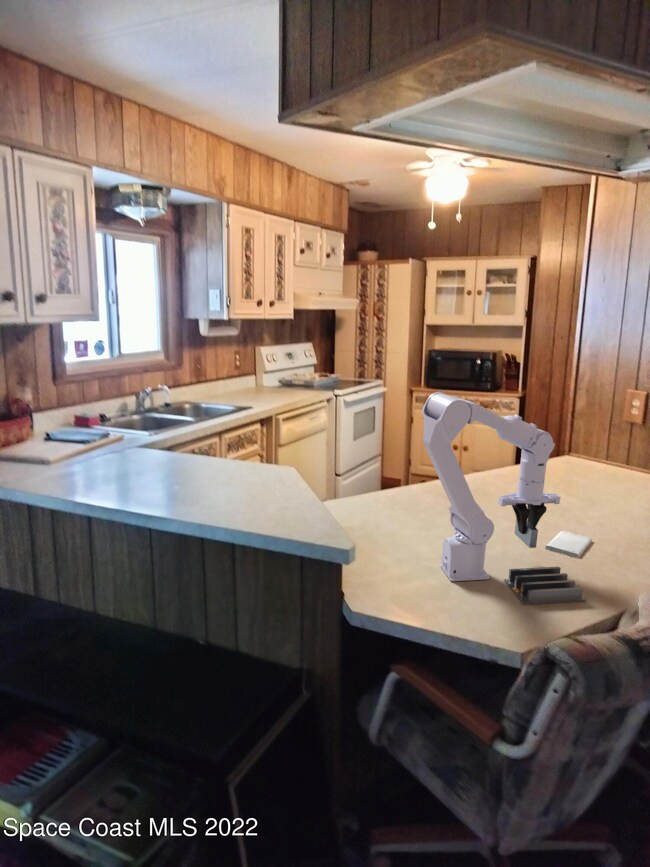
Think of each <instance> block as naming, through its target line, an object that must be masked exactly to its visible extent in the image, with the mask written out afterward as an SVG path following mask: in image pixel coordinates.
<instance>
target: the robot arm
mask: <svg viewBox="0 0 650 867" xmlns="http://www.w3.org/2000/svg"><path fill="white" fill-rule="evenodd" d="M421 413H422V416H423V432H422V443H423V446H424V448H425V450H426V452H427V455H428V457H429V459H430V461H431V464H432V466H433V468H434V469H435V472H436V474H437V476H438V479H439V481H440V484H441V486H442V487H443V490H444V492H445V495H446V496H447V498H448V501H449V503H450V505H449V506H448V510H449V514H450V517H449V521H450V524H451V526H452V527H453V528H454V531H453V532H454V535H453V536H450V537H445V538H444V540H443V542H442V552H441V553H442V554H441V563H440V564H439V565H440V567H441V569H442V571H443V572H444V573H445V576H447V578H448V579H449V581H450V582H461V581H465V582H466V581H481V580H484V581H485V580H490V579H491V577H490V575H489V574H488V573H487V571H486V570H485V559H486V558H485V557H486V551H487V550H486V549H487V543H488V541H489V540H490V539H491V538H492V536H493V535H494V532H495V524H494V522H493V520H491V519H490V518H488V517H487V516H486V515H485V511H484V510H483V509H482V507H480V505H479V504H478V503H477V502H476V500H475V498H474V496H473V494H472V492H471V489H470V487H469V484H468V482H467V480H466V478H465V475H464V473H463V471H462V468H461V466H460V464H459V461H458V459H457V457H456V454H455V452H454V450H453V448H452V444H451V443H452V442H453V441H454V440H455V439H456V438H457V436H458V435H459V434H460V433H461V431H462V430H463V429H464V428H465V427H466V426H467V424H468V425H472V424H473V423H474V422H477V423H480V424H482V425H484V426H486V427H489V428H491V429H494V430H495V431H496V435H497V437H498V438H499V439H501V440H502V441H505V442H507V443H509V444H511V445H514V446H515V447H517V448H519V449H520V450H521V453H520V455H521V457H520V464H519V473H518V474H519V475H518V484H517V492H515V493H511V494H506V495H499V496H498V502H497V503H498V505H500V506H501V507H506V506H511V507H512V509H513V512H514V513H515V514H514V515H515V519H516V518H517V523H518V530H519V532H520V533H521V534H525V531H526V524H527V521H528V522H529V523H531V524H532V525H533V526H534V527H535V528H536V529H537V525H538V523H539V521H540V519H541V518H542V517H543V516H544V514H545V513H546V512H547V509H548V508H547V506H546V504H555V505H560V504H561V503H560V502H561V496H560V495H558V494H557V493H545V492H544V489H545V488H544V487H545V480H546V470H547V463H548V461H549V460H550V454H551V453H552V452H553V450H554V449H555V446H556V443H554V440H553V437H552V435H551V433H549V432H548V431H545V430H542V429H540V428H538V427H537V426H538V425H536V424H534V423H531V422H530V423H528V422H526V421H524V420H523V417H522V416H520V415H517V414H514V415H506V416H500V415H498V414H497V413H495V412H493V411H491V410H489V409H488V408H485V406H484V407H483V406H482V405H480V404H478V403H475V402H473V401H470V400H467V399H465V398H464V399H463V398H460V397H456V396H454V395H448V394H446V393H445V392H441V391H438V392H437V391H436V392H433V393H432V394H430V396H428V398H426V401H425V403H424V405H423V406H422V409H421Z"/></svg>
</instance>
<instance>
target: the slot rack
mask: <svg viewBox="0 0 650 867" xmlns="http://www.w3.org/2000/svg"><path fill="white" fill-rule="evenodd" d="M568 575H569V574H568V573H566V572H565V573H563V572H562V573H561V567H560V566H544V567H543V566H542V567H527V568H526V567H524V568H509V570H508V578H504V580H503V581H504V583H505V584H506V585H507V587H509V588H510V590H511V591H512V592H513V593H514V595H515V596H516V597H517V598H518V599H519V602H521V603H522V605H524V606H529V605H548V604H564V603H565V604H566V603H581V602H587V601H586V600H587V599H586V598H585V597H584V596H583V591H584V588H583V587H580V586H578V587H577V586H576V587H575V585H576V581H575V580H574V579H569V580H568Z"/></svg>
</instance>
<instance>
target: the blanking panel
mask: <svg viewBox="0 0 650 867" xmlns="http://www.w3.org/2000/svg"><path fill="white" fill-rule="evenodd" d="M538 533H539V529H538V528H537V527H536V528H535V527H534V526H533V525H532V524H531V523H529V522H528V520H527V524H526V531H525V534H521V533H520V532H519V530H518V523H517V518H516V517H515V527H514V535H515V536H516V537H517V538H519V539H520V540H521V541H522V542H523V543H524V544H525V545H526V546H527V547H528V548H529V549H535V548H536V549H537V542H538V535H539V534H538Z"/></svg>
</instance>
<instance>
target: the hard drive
mask: <svg viewBox="0 0 650 867" xmlns="http://www.w3.org/2000/svg"><path fill="white" fill-rule="evenodd" d="M592 542H593V538H591V537H588V536H585V535H580V534H578V533H573V532H568V531H564V530H561V531H559V532H558V534H557V535H555V536H554V537H553V538H552V539H551V540H550V541H549V542H548V543H547V544H546V545H545V547H544V548H545V550H547V549H548V551H551V552H554V551H556V552H555V553H558V552H559V554H562V553H563V554H562V555H565V554H566V556H570V557H573V558H576V559H579V558H580V556H581V555H582V554H583V553H584V552H585V550H586V549H587V548H588V547H589V546H590V545H591V543H592Z"/></svg>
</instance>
